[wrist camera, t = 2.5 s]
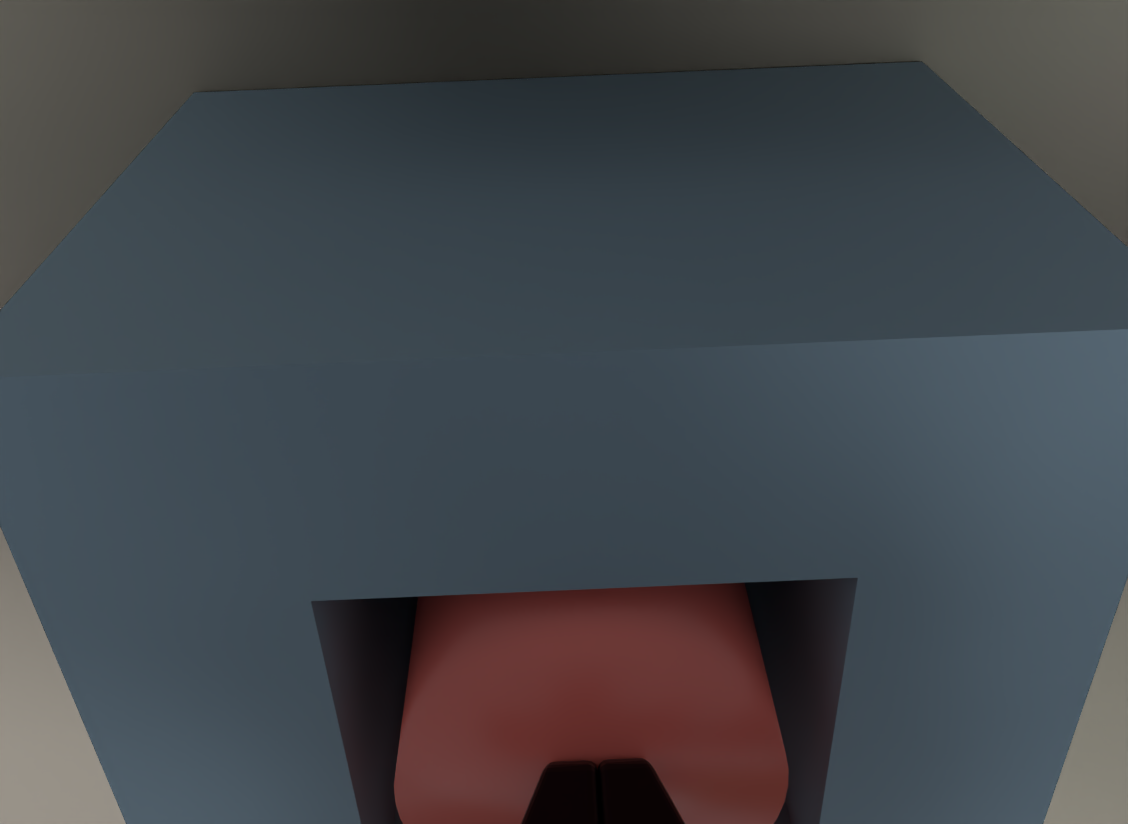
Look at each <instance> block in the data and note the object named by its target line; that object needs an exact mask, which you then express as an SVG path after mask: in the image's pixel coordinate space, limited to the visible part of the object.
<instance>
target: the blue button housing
mask: <svg viewBox="0 0 1128 824" xmlns="http://www.w3.org/2000/svg"><path fill="white" fill-rule="evenodd" d="M0 527H1V529H2V531H3V534H4V536H5V538H6V541H7V543H8V545H9V548H10V550H11V553H12V555H13V557H14V560H15V562H16V564H17V567H18V569H19V571H20V574H21V576H22V579H23V581H24V583H25V586H26V588H27V590H28V593H29V595H30V597H31V600H32V602H33V605H34V607H35V609H36V612H37V614H38V616H39V619H40V621H41V624H42V626H43V628H44V631H45V633H46V635H47V638H48V640H49V642H50V645H51V647H52V650H53V652H54V654H55V657H56V659H57V661H58V664H59V666H60V668H61V671H62V673H63V676H64V678H65V680H66V683H67V685H68V687H69V690H70V692H71V694H72V697H73V699H74V702H75V704H76V706H77V709H78V711H79V713H80V716H81V718H82V720H83V723H84V725H85V728H86V730H87V732H88V735H89V737H90V739H91V742H92V744H93V746H94V749H95V751H96V754H97V756H98V758H99V761H100V763H101V765H102V768H103V770H104V772H105V775H106V777H107V780H108V782H109V784H110V787H111V789H112V791H113V794H114V796H115V798H116V801H117V803H118V806H119V808H120V810H121V813H122V815H123V817H124V820H125V822H126V824H403V823H402V821H401V819H400V817H399V813H398V810H397V807H396V803H395V794H394V779H395V771H396V763H397V755H398V747H399V740H400V732H401V724H402V717H403V709H404V701H405V694H406V686H407V678H408V671H409V663H410V655H411V648H412V640H413V632H414V625H415V617H416V609H417V601H418V597H419V596H442V595H466V594H489V593H512V592H536V591H559V590H583V589H606V588H629V587H653V586H676V585H699V584H723V583H745V587H746V591H747V595H748V599H749V603H750V607H751V611H752V615H753V620H754V624H755V628H756V632H757V636H758V640H759V644H760V649H761V653H762V657H763V661H764V665H765V669H766V673H767V677H768V682H769V686H770V690H771V694H772V698H773V702H774V706H775V711H776V715H777V719H778V723H779V727H780V731H781V735H782V739H783V744H784V748H785V752H786V757H787V763H788V768H789V775H788V789H787V793H786V798H785V802H784V804H783V806H782V809H781V811H780V813H779V816H778V818H777V819H776V821H775V822H774V824H1043V822H1044V819H1045V816H1046V814H1047V811H1048V808H1049V805H1050V802H1051V799H1052V796H1053V793H1054V790H1055V787H1056V784H1057V782H1058V779H1059V776H1060V773H1061V770H1062V767H1063V764H1064V761H1065V758H1066V755H1067V752H1068V749H1069V747H1070V744H1071V741H1072V738H1073V735H1074V732H1075V729H1076V726H1077V723H1078V720H1079V717H1080V715H1081V712H1082V709H1083V706H1084V703H1085V700H1086V697H1087V694H1088V691H1089V688H1090V685H1091V683H1092V680H1093V677H1094V674H1095V671H1096V668H1097V665H1098V662H1099V659H1100V656H1101V653H1102V650H1103V648H1104V645H1105V642H1106V639H1107V636H1108V633H1109V630H1110V627H1111V624H1112V621H1113V618H1114V616H1115V613H1116V610H1117V607H1118V604H1119V601H1120V598H1121V595H1122V592H1123V589H1124V586H1125V583H1126V581H1127V578H1128V247H1127V246H1126V245H1125V244H1123V243H1122V242H1121V241H1120V240H1119V239H1118V238H1117V237H1116V236H1115V235H1113V234H1112V233H1111V232H1110V231H1109V230H1108V229H1107V228H1106V227H1105V226H1104V225H1102V224H1101V223H1100V222H1099V221H1098V220H1097V219H1096V218H1095V217H1094V216H1092V215H1091V214H1090V213H1089V212H1088V211H1087V210H1086V209H1085V208H1084V207H1082V206H1081V205H1080V204H1079V203H1078V202H1077V201H1076V200H1075V199H1074V198H1073V197H1071V196H1070V195H1069V194H1068V193H1067V192H1066V191H1065V190H1064V189H1063V188H1061V187H1060V186H1059V185H1058V184H1057V183H1056V182H1055V181H1054V180H1053V179H1052V178H1050V177H1049V176H1048V175H1047V174H1046V173H1045V172H1044V171H1043V170H1042V169H1040V168H1039V167H1038V166H1037V165H1036V164H1035V163H1034V162H1033V161H1032V160H1030V159H1029V158H1028V157H1027V156H1026V155H1025V154H1024V153H1023V152H1022V151H1021V150H1019V149H1018V148H1017V147H1016V146H1015V145H1014V144H1013V143H1012V142H1011V141H1009V140H1008V139H1007V138H1006V137H1005V136H1004V135H1003V134H1002V133H1001V132H999V131H998V130H997V129H996V128H995V127H994V126H993V125H992V124H991V123H990V122H988V121H987V120H986V119H985V118H984V117H983V116H982V115H981V114H980V113H978V112H977V111H976V110H975V109H974V108H973V107H972V106H971V105H970V104H969V103H967V102H966V101H965V100H964V99H963V98H962V97H961V96H960V95H959V94H957V93H956V92H955V91H954V90H953V89H952V88H951V87H950V86H949V85H947V84H946V83H945V82H944V81H943V80H942V79H941V78H940V77H939V76H938V75H936V74H935V73H934V72H933V71H932V70H931V69H930V68H929V67H928V66H926V65H925V64H924V63H923V62H901V63H877V64H854V65H830V66H807V67H783V68H760V69H736V70H713V71H689V72H666V73H642V74H619V75H595V76H572V77H548V78H525V79H501V80H478V81H454V82H431V83H407V84H384V85H360V86H337V87H313V88H290V89H266V90H243V91H219V92H196V93H193V94H192V95H191V96H190V97H189V99H188V100H187V101H186V102H185V103H184V104H183V105H182V106H181V108H180V109H179V110H178V111H177V112H176V113H175V114H174V115H173V117H172V118H171V119H170V120H169V121H168V122H167V123H166V124H165V126H164V127H163V128H162V129H161V130H160V131H159V132H158V133H157V135H156V136H155V137H154V138H153V139H152V140H151V141H150V142H149V144H148V145H147V146H146V147H145V148H144V149H143V150H142V151H141V153H140V154H139V155H138V156H137V157H136V158H135V159H134V160H133V162H132V163H131V164H130V165H129V166H128V167H127V168H126V169H125V171H124V172H123V173H122V174H121V175H120V176H119V177H118V178H117V180H116V181H115V182H114V183H113V184H112V185H111V186H110V187H109V189H108V190H107V191H106V192H105V193H104V194H103V195H102V196H101V198H100V199H99V200H98V201H97V202H96V203H95V204H94V205H93V207H92V208H91V209H90V210H89V211H88V212H87V213H86V214H85V216H84V217H83V218H82V219H81V220H80V221H79V222H78V223H77V225H76V226H75V227H74V228H73V229H72V230H71V231H70V232H69V234H68V235H67V236H66V237H65V238H64V239H63V240H62V241H61V243H60V244H59V245H58V246H57V247H56V248H55V249H54V250H53V252H52V253H51V254H50V255H49V256H48V257H47V258H46V259H45V261H44V262H43V263H42V264H41V265H40V266H39V267H38V268H37V270H36V271H35V272H34V273H33V274H32V275H31V276H30V277H29V279H28V280H27V281H26V282H25V283H24V284H23V285H22V286H21V288H20V289H19V290H18V291H17V292H16V293H15V294H14V295H13V297H12V298H11V299H10V300H9V301H8V302H7V303H6V304H5V306H4V307H3V308H2V309H1V310H0Z"/></svg>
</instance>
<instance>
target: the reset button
mask: <svg viewBox="0 0 1128 824" xmlns="http://www.w3.org/2000/svg"><path fill="white" fill-rule="evenodd" d="M628 758H643V759H645V760H647V761H648V762H649V763H650V764H651V765H652V766H653V768H654V769H655V771H656V773H657V774H658V776H659V778H660V780H661V782H662V783H663V785H664V787H665V789H666V790H667V792H668V794H669V796H670V798H671V799H672V801H673V803H674V805H675V807H676V808H677V810H678V812H679V814H680V815H681V817H682V819H683V821H684V823H685V824H774V822H775V821H776V819H777V818H778V816H779V813H780V811H781V809H782V806H783V804H784V802H785V798H786V793H787V789H788V775H789V768H788V763H787V757H786V752H785V748H784V744H783V739H782V735H781V731H780V727H779V723H778V719H777V715H776V711H775V706H774V702H773V698H772V694H771V690H770V686H769V682H768V677H767V673H766V669H765V665H764V661H763V657H762V653H761V649H760V644H759V640H758V636H757V632H756V628H755V624H754V620H753V615H752V611H751V607H750V603H749V599H748V595H747V591H746V587H745V583H723V584H699V585H676V586H653V587H629V588H606V589H583V590H559V591H536V592H512V593H489V594H466V595H442V596H419V597H418V601H417V609H416V617H415V625H414V632H413V640H412V648H411V655H410V663H409V671H408V678H407V686H406V694H405V701H404V709H403V717H402V724H401V732H400V740H399V747H398V755H397V763H396V771H395V779H394V794H395V803H396V807H397V810H398V813H399V817H400V819H401V821H402V823H403V824H521V822H522V819H523V817H524V815H525V812H526V810H527V807H528V805H529V802H530V800H531V798H532V795H533V793H534V790H535V788H536V786H537V783H538V781H539V778H540V776H541V774H542V771H543V770H544V768H545V767H546V766H547V765H548V764H549V763H551V762H557V761H581V760H588V761H591V762H593V763H594V764H595V765H596V767H597V772H598V766H599V764H600V763H601V762H602V761H604V760H607V759H628Z"/></svg>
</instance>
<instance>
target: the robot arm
mask: <svg viewBox="0 0 1128 824" xmlns="http://www.w3.org/2000/svg"><path fill="white" fill-rule="evenodd" d="M521 824H685V823H684V821H683V819H682V817H681V815H680V814H679V812H678V810H677V808H676V807H675V805H674V803H673V801H672V799H671V798H670V796H669V794H668V792H667V790H666V789H665V787H664V785H663V783H662V782H661V780H660V778H659V776H658V774H657V773H656V771H655V769H654V768H653V766H652V765H651V764H650V763H649V762H648V761H647V760H645V759H643V758H628V759H607V760H604V761H602V762H601V763H600V764H599V766H598V772H597V767H596V765H595V764H594V763H593V762H591V761H588V760H581V761H557V762H551V763H549V764H548V765H547V766H546V767H545V768H544V770H543V771H542V774H541V776H540V778H539V781H538V783H537V786H536V788H535V790H534V793H533V795H532V798H531V800H530V802H529V805H528V807H527V810H526V812H525V815H524V817H523V819H522V822H521Z"/></svg>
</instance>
